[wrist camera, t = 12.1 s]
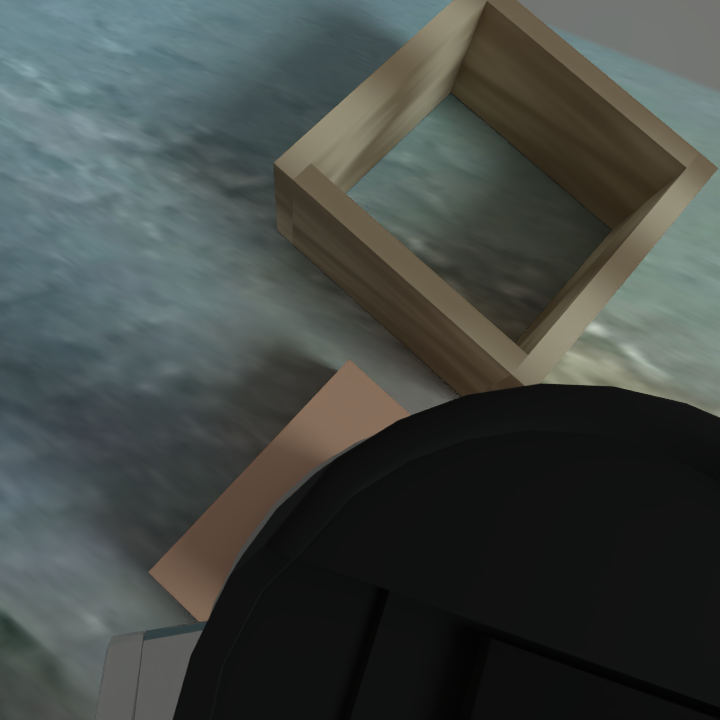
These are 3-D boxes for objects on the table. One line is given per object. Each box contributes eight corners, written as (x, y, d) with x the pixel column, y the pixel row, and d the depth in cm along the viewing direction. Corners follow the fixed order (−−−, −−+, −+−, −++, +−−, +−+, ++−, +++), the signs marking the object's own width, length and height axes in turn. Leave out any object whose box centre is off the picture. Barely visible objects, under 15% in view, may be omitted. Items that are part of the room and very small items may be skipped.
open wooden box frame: (482, 414, 28) (532, 392, 22) (277, 230, 29) (273, 162, 23) (637, 230, 31) (718, 168, 25) (448, 68, 32) (483, -28, 26)
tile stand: (361, 753, 24) (370, 788, 21) (164, 563, 25) (148, 572, 22) (525, 539, 27) (553, 544, 24) (343, 373, 28) (349, 359, 25)
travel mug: (398, 672, 22) (1204, 1848, 3) (228, 614, 22) (-155, 1485, 3) (446, 507, 24) (1177, 542, 4) (289, 451, 23) (336, 224, 4)
